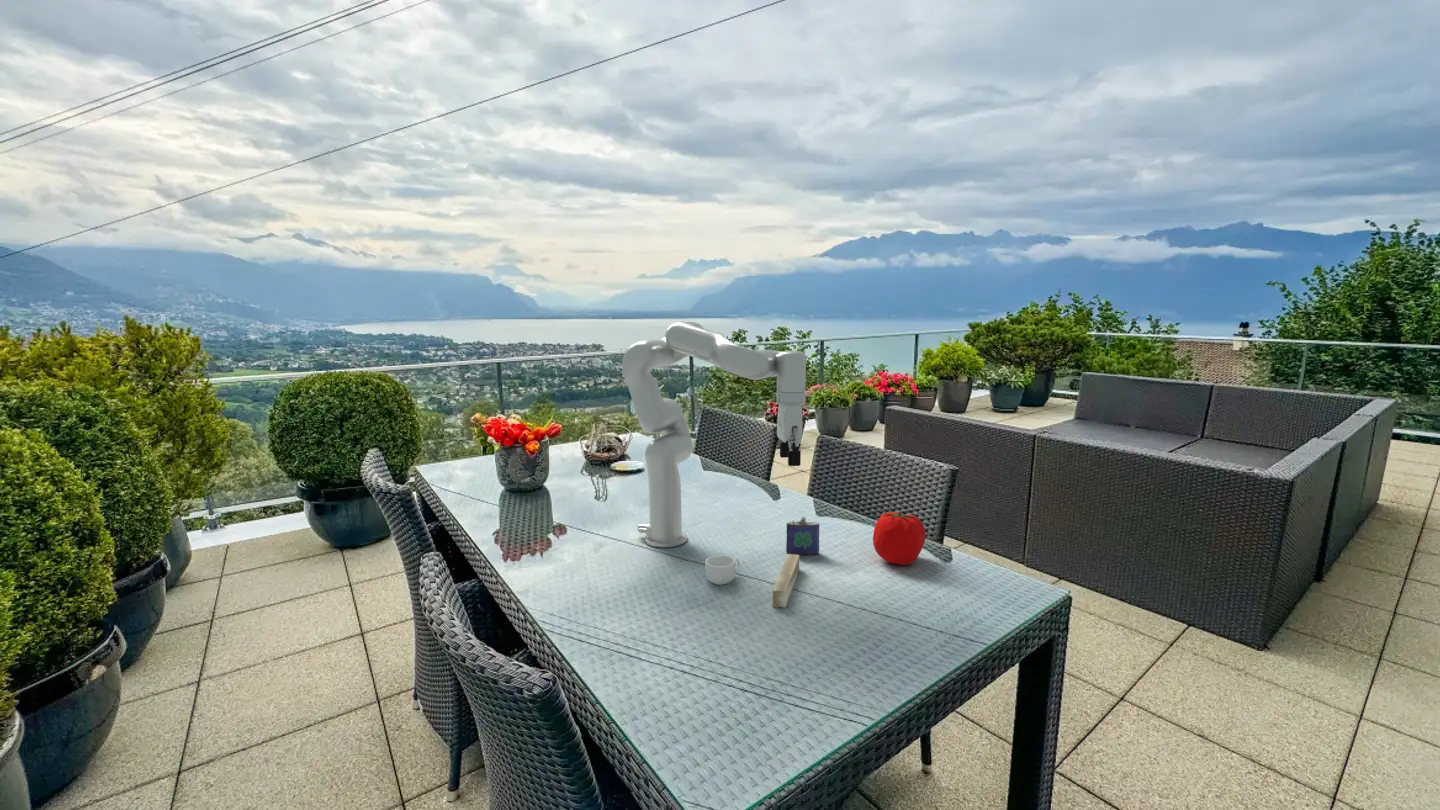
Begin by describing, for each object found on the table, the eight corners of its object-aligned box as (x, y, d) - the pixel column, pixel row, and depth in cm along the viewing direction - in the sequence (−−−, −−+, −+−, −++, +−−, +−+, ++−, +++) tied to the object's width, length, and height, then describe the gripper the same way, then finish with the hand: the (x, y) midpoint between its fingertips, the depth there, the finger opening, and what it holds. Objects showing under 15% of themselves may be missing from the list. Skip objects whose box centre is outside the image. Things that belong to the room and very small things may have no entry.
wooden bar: (772, 606, 134) (772, 590, 133) (787, 568, 155) (787, 553, 154) (785, 608, 133) (785, 591, 132) (799, 569, 154) (799, 554, 153)
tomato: (893, 574, 150) (895, 523, 148) (859, 555, 162) (861, 508, 161) (939, 564, 156) (941, 515, 154) (904, 546, 169) (905, 500, 167)
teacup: (717, 590, 142) (717, 569, 141) (699, 580, 148) (698, 559, 147) (748, 579, 148) (748, 559, 147) (730, 569, 154) (729, 550, 153)
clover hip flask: (818, 551, 166) (819, 515, 164) (819, 556, 163) (820, 519, 161) (785, 551, 166) (786, 515, 165) (786, 555, 163) (786, 518, 162)
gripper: (770, 394, 162) (769, 454, 165) (784, 402, 145) (783, 469, 148) (796, 393, 163) (795, 453, 165) (813, 402, 146) (812, 468, 148)
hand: (789, 461), depth 156 cm, fingers open, 9 cm apart
